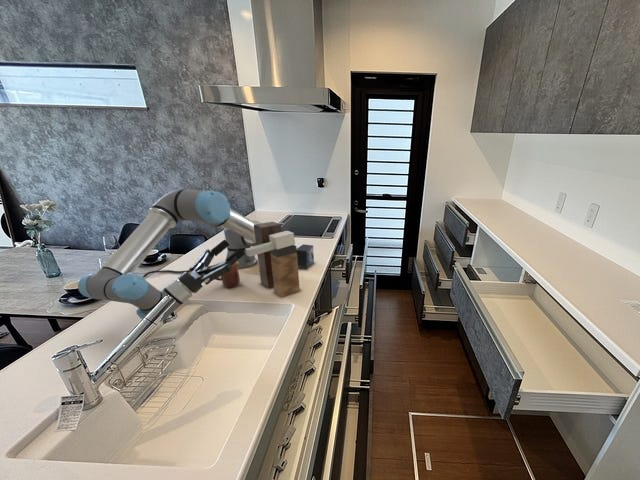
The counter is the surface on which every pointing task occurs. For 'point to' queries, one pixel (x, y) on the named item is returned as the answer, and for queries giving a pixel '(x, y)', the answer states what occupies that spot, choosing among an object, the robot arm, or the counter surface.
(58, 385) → the counter surface
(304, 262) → the small box
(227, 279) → the mug
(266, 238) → the tall pedestal
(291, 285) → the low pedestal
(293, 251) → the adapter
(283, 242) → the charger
